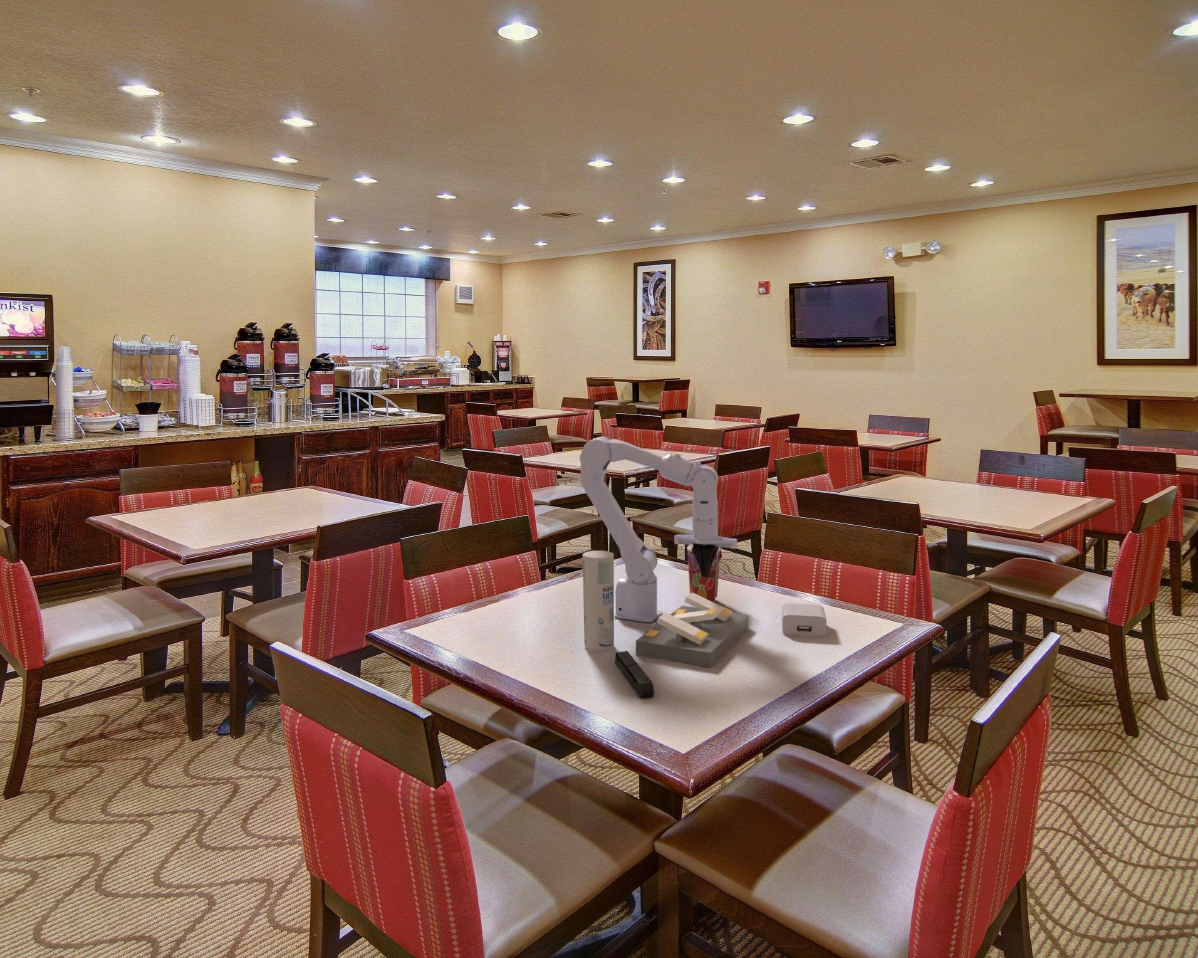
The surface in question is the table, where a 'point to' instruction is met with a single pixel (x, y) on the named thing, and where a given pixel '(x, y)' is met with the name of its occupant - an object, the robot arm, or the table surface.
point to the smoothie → (701, 584)
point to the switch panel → (683, 650)
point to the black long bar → (634, 674)
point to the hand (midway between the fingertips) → (705, 576)
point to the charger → (803, 620)
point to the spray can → (598, 600)
